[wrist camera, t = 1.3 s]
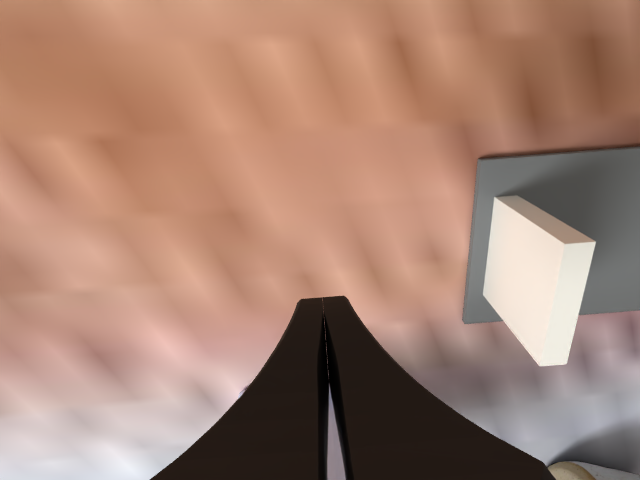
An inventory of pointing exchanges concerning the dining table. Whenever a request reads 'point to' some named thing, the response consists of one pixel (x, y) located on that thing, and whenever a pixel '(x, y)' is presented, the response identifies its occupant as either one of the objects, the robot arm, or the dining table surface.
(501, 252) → the tile
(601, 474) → the ceramic mug
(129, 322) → the dining table surface
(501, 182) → the mat
